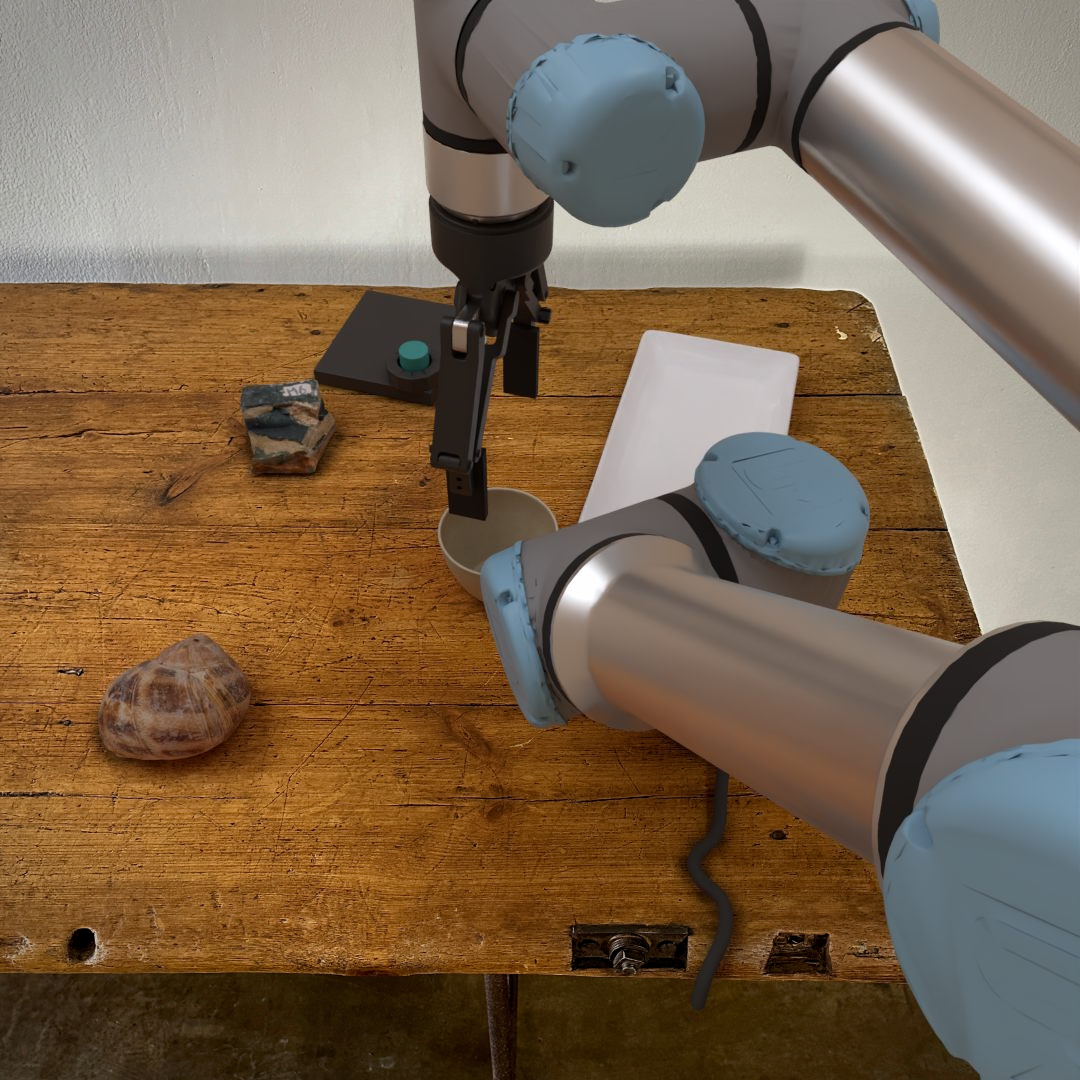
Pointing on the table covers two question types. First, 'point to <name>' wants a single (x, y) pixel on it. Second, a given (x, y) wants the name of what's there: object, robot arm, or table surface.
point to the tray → (686, 413)
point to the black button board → (385, 348)
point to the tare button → (414, 356)
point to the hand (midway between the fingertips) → (496, 450)
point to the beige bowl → (491, 533)
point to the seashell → (175, 702)
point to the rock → (286, 426)
